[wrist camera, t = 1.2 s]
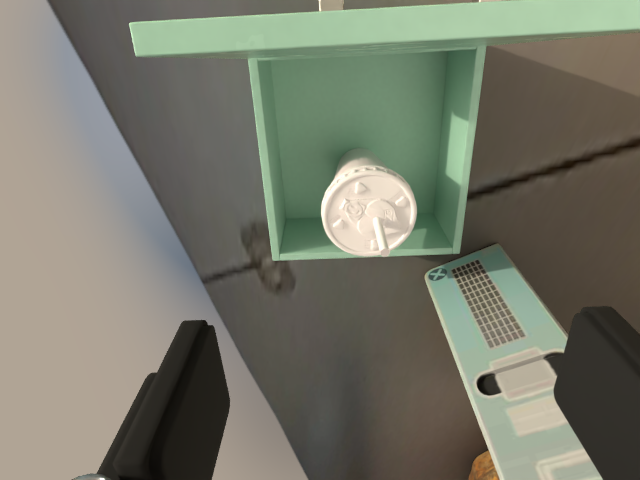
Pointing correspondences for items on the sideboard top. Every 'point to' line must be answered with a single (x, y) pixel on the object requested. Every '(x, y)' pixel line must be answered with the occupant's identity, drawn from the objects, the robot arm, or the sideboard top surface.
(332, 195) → the smoothie
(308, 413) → the sideboard top surface
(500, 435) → the device
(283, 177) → the mint green open crate
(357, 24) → the lid
